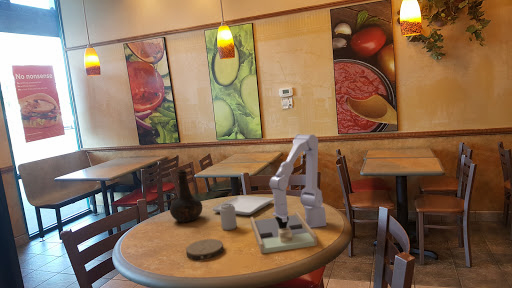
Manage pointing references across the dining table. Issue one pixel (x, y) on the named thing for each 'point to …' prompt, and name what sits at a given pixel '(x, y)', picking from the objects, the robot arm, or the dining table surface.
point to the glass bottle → (185, 202)
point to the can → (228, 216)
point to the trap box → (270, 239)
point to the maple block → (285, 234)
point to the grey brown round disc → (204, 249)
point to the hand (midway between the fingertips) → (283, 232)
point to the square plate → (246, 204)
